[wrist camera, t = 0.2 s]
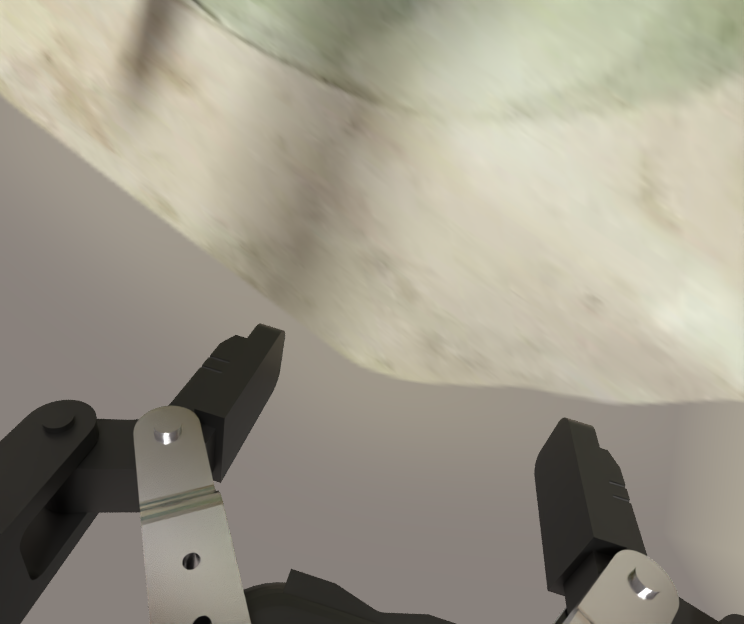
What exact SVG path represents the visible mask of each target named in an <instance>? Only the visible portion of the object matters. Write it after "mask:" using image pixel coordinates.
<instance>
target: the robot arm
mask: <svg viewBox="0 0 744 624" xmlns="http://www.w3.org/2000/svg"><path fill="white" fill-rule="evenodd" d="M284 340H285V332H284V331H283V330H279V329H276V328H273V327H270V326H266V325H263V324H258V325H257V326H256V327H255V329H254V330H253V331H252V333H251V334H250V335H249V337H248V338H244V337H240V336H238V335H235V336H233V337H231V338H229V339H228V340H225V341H224V342H222V343H220V344H219V345H218V347H217V348H216V349H215V350H214V351H213V353H212V354H211V355H210V358H208V359H207V360H206V361H205V362H204V364H203V365H202V367H201V368H200V369H199V370H198V371H197V372H196V373H195V374H194V376H193V377H192V378H191V380H189V382H188V383H187V384H186V385H185V387H184V388H183V389H182V390H181V391H180V393H179V394H178V395H177V396H176V397H175V399H174V400H173V401H172V402H171V403H170V404H169V405H168V406H164V407H159V408H156V409H153V410H151V411H149V412H148V413H146V414H144V415H143V416H142V417H141V418H140V419H136V420H114V419H112V420H111V419H97V417H96V413H95V411H94V409H93V408H92V407H91V406H89V405H88V404H86V403H84V402H81V401H76V400H61V401H55V402H51V403H49V404H46V405H43V406H41V407H39V408H37V409H36V410H34V411H33V412H31V413H30V414H29V415H28V416H27V417H26V418H25V419H23V420H22V422H20V423H19V424H18V425H17V426H16V427H15V428H14V429H13V430H12V431H11V432H10V433H9V434H8V435H7V436H5V438H3V439H2V440H1V441H0V624H20V623H21V622H22V621H23V619H24V618H25V616H26V615H27V614H28V612H29V611H30V609H31V608H32V606H33V605H34V604H35V602H36V601H37V599H38V598H39V597H40V595H41V594H42V592H43V591H44V590H45V588H46V587H47V585H48V584H49V582H50V581H51V580H52V578H53V577H54V575H55V574H56V573H57V571H58V570H59V568H60V567H61V565H62V564H63V563H64V561H65V560H66V558H67V557H68V556H69V554H70V553H71V551H72V550H73V549H74V547H75V546H76V544H77V543H78V542H79V540H80V539H81V537H82V536H83V534H84V533H85V531H86V530H87V529H88V527H89V526H90V525H91V523H92V522H93V520H94V519H95V517H96V516H97V515H98V513H99V512H140V515H141V528H142V538H143V551H144V561H145V573H146V585H147V596H148V608H149V618H150V624H455V623H452V622H449V621H446V620H443V619H440V618H437V617H434V616H431V615H428V614H427V615H426V614H403V613H382V612H379V611H376V610H375V609H373V608H372V607H370V606H369V605H367V604H365V603H364V602H362V601H361V600H359V599H358V598H356V597H355V596H353V595H352V594H350V593H349V592H347V591H346V590H344V589H343V588H341V587H340V586H338V585H337V584H335V583H332V582H329V581H326V580H323V579H320V578H317V577H314V576H311V575H308V574H305V573H302V572H299V571H296V570H293V569H291V571H290V574H289V577H288V579H287V582H286V583H283V582H282V583H280V582H276V583H265V584H261V585H256V586H253V587H250V588H247V589H245V590H243V587H242V583H241V578H240V574H239V569H238V565H237V561H236V556H235V553H234V548H233V543H232V539H231V535H230V531H229V526H228V522H227V518H226V513H225V509H224V505H223V501H222V497H221V494H220V492H219V491H216V490H215V488H214V483H213V480H214V481H217V482H220V483H221V481H222V480H223V478H224V476H225V474H226V472H227V471H228V469H229V467H230V466H231V464H232V462H233V460H234V459H235V457H236V455H237V453H238V452H239V450H240V448H241V446H242V445H243V443H244V441H245V439H246V438H247V436H248V434H249V433H250V431H251V429H252V427H253V426H254V424H255V422H256V420H257V419H258V417H259V415H260V413H261V412H262V410H263V408H264V406H265V404H266V403H267V401H268V399H269V397H270V396H271V394H272V392H273V390H274V388H275V386H276V383H277V380H278V377H279V373H280V367H281V360H282V353H283V346H284ZM535 483H536V492H537V501H538V510H539V518H540V527H541V536H542V545H543V554H544V562H545V571H546V580H547V589H548V591H551V592H554V593H556V594H560V595H563V596H565V599H566V608H565V609H564V610H563V611H562V612H561V613H560V615H559V616H558V617H557V619H556V620H555V622H554V623H553V624H744V616H742V615H738V614H731V615H728V616H726V617H724V618H723V619H722V620H720V621H719V622H718V621H717V620H715V619H713V618H712V617H710V616H708V615H707V614H705V613H703V612H702V611H700V610H699V609H697V608H695V607H694V606H692V605H691V604H689V603H687V602H686V601H684V600H683V599H681V598H680V597H679V596H678V593H677V590H676V588H675V586H674V584H673V582H672V580H671V579H670V577H669V576H668V575H667V573H666V572H665V571H664V570H663V569H662V568H661V567H660V566H659V565H658V564H657V563H656V562H654V561H653V560H652V559H651V558H649V557H647V554H646V550H645V547H644V544H643V541H642V537H641V534H640V531H639V528H638V525H637V521H636V518H635V515H634V512H633V508H632V505H631V503H629V500H630V499H629V496H628V492H627V489H625V482H624V479H623V476H622V473H621V470H620V467H619V466H618V464H617V463H616V461H615V460H614V459H613V457H612V456H611V454H610V453H609V452H608V450H605V449H602V448H600V447H599V443H598V440H597V436H596V432H595V429H594V427H593V426H591V425H588V424H584V423H581V422H578V421H575V420H571V419H568V418H562V419H561V420H560V421H559V422H558V424H557V426H556V427H555V429H554V431H553V432H552V433H551V435H550V437H549V438H548V440H547V442H546V443H545V445H544V446H543V448H542V449H541V451H540V453H539V455H538V457H537V460H536V464H535Z"/></svg>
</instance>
